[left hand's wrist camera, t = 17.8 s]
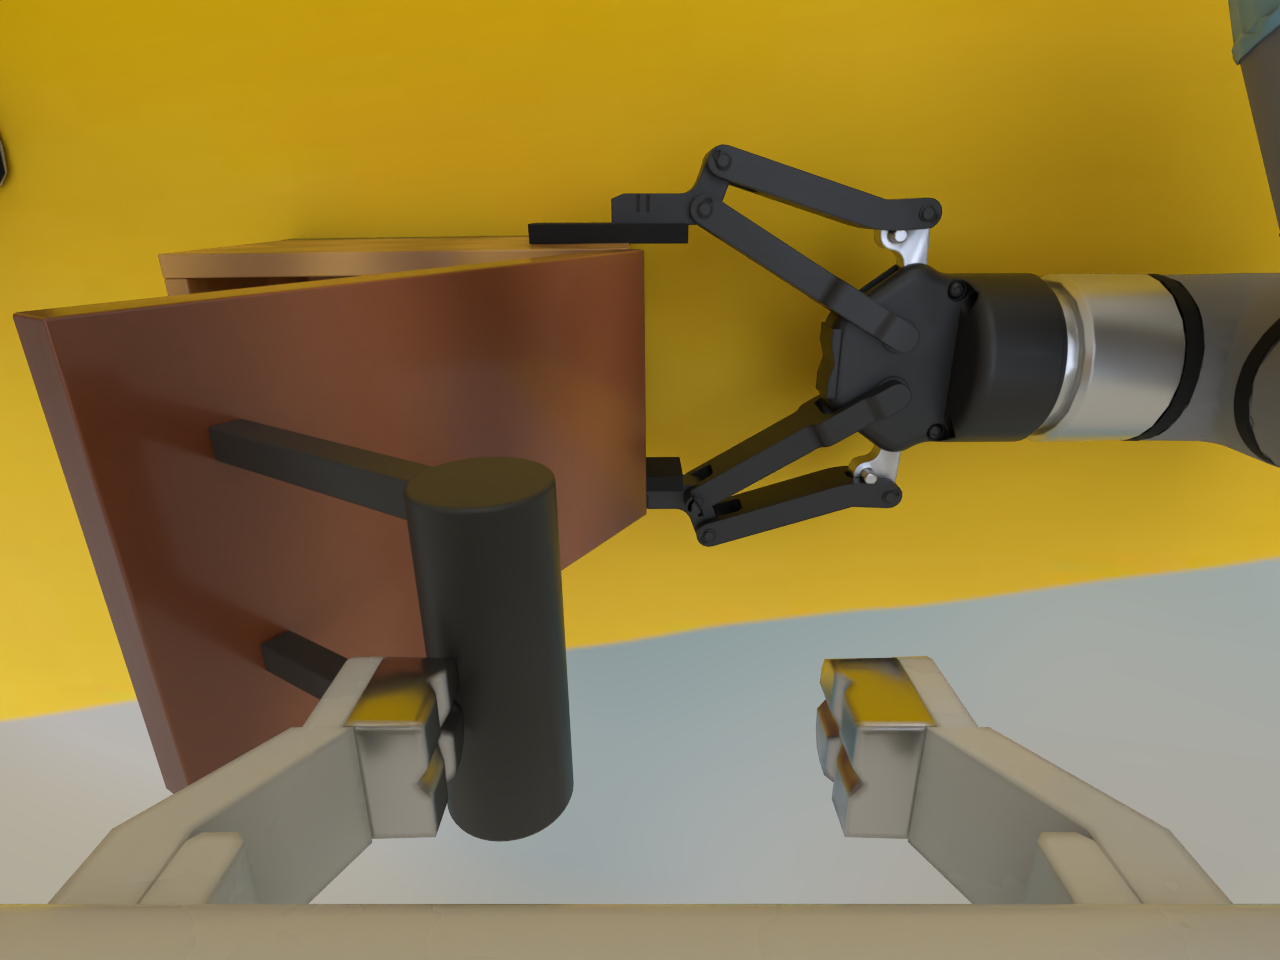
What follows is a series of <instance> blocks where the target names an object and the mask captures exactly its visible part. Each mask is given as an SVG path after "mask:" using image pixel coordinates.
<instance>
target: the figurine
mask: <svg viewBox="0 0 1280 960" xmlns="http://www.w3.org/2000/svg"><path fill="white" fill-rule="evenodd" d="M6 174H7V166H6V160H5V154H4V148H3V145H2V143H1V140H0V186H2V184H3V182H4V179H5V177H6Z"/></svg>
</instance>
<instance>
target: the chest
mask: <svg viewBox="0 0 1280 960" xmlns="http://www.w3.org/2000/svg"><path fill="white" fill-rule="evenodd" d="M610 249H630V244H629V243H596V244H529V236H471V237H396V238H320V239H287V240H281V241H272V242H263V243H255V244H246V245H237V246H228V247H219V248H210V249H201V250H193V251H184V252H175V253H166V254H159V255H158V257H159V261H160V265H161V269H162V273H163V277H164V278H166V279H165V284H166V288H167V292H168V296H176V295H185V294H195V293H204V292H214V291H223V290H233V289H242V288H251V287H261V286H270V285H280V284H289V283H299V282H308V281H317V280H327V279H336V278H346V277H355V276H365V275H374V274H384V273H393V272H402V271H412V270H421V269H431V268H440V267H450V266H459V265H468V264H478V263H487V262H497V261H506V260H516V259H525V258H535V257H544V256H553V255H563V254H572V253H582V252H591V251H601V250H610Z"/></svg>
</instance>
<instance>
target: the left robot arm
mask: <svg viewBox="0 0 1280 960" xmlns="http://www.w3.org/2000/svg"><path fill="white" fill-rule="evenodd" d="M820 684H821V687H822V690H823V692H824V695H825V698H826V700H825V701H824V702H823V703H822V704H821V705H820V706H819V707H818V708H817V720H816V738H817V750H818V755H819V760H820V764H821V767H822V770H823V773H824V775H825V776H826V777H827V778H829V779H830V780H831V781H832V782H834V785H833V794H832V801H833V803H834V806H835V809H836V812H837V815H838V818H839V821H840V824H841V827H842V830H843V833H844V836H845V837H862V838H898V839H908V842H909V843H910V844H911V845H912V846H913V847H914V848H915V849H916V850H917V851H918V852H919V853H920V854H921V855H922V856H923V857H924V858H925V859H926V860H927V861H928V862H929V863H931V864H932V865H933V866H934V867H935V868H936V869H937V870H938V871H939V872H940V873H941V874H942V875H943V876H944V877H945V878H946V879H947V880H948V881H949V882H950V883H951V884H952V885H953V886H954V887H956V888H957V889H958V890H959V891H960V892H961V893H962V894H963V895H964V896H965V897H966V898H967V899H968V900H969V901H970V902H971V903H972V904H308V903H310V902H311V901H312V900H313V899H314V898H315V897H316V896H317V895H318V894H319V893H320V892H321V891H322V890H323V889H324V888H325V887H326V886H327V885H328V884H329V883H330V882H331V881H332V880H333V879H335V878H336V877H337V876H338V875H339V874H340V873H341V872H342V871H343V870H344V869H345V868H346V867H347V866H348V865H349V864H350V863H351V862H352V861H353V860H354V859H355V858H356V857H357V856H358V855H360V854H361V853H362V852H363V851H364V850H365V849H366V848H367V847H368V846H369V845H370V844H371V843H372V839H382V838H417V837H436V834H437V831H438V828H439V825H440V822H441V819H442V816H443V813H444V810H445V807H446V804H447V801H448V791H447V782H448V781H449V780H450V779H452V778H453V777H454V776H455V775H456V774H457V771H458V768H459V764H460V761H461V756H462V750H463V743H464V716H463V709H462V707H461V706H460V705H459V704H458V703H457V702H456V700H455V696H456V693H457V691H458V688H459V685H460V681H459V673H458V665H457V662H456V660H455V659H454V658H427V657H387V658H386V657H384V656H376V657H352V658H350V659H348V660H347V661H346V662H345V664H344V665H343V666H342V668H341V669H340V671H339V672H338V674H337V675H336V677H335V678H334V680H333V681H332V683H331V684H330V686H329V687H328V689H327V690H326V692H325V693H324V695H323V696H322V698H321V699H320V701H319V702H318V704H317V705H316V707H315V708H314V710H313V711H312V713H311V714H310V716H309V717H308V719H307V720H306V722H305V723H304V725H303V726H302V727H291V728H289V729H287V730H286V731H284V732H282V733H280V734H279V735H277V736H275V737H273V738H271V739H270V740H268V741H266V742H264V743H263V744H261V745H259V746H257V747H256V748H254V749H252V750H250V751H249V752H247V753H245V754H243V755H242V756H240V757H238V758H236V759H235V760H233V761H231V762H229V763H228V764H226V765H224V766H222V767H220V768H219V769H217V770H215V771H213V772H212V773H210V774H208V775H206V776H205V777H203V778H201V779H199V780H198V781H196V782H194V783H192V784H191V785H189V786H187V787H185V788H184V789H182V790H180V791H178V792H177V793H175V794H173V795H171V796H170V797H168V798H166V799H164V800H163V801H161V802H159V803H157V804H155V805H154V806H152V807H150V808H148V809H147V810H145V811H143V812H141V813H140V814H138V815H136V816H134V817H133V818H131V819H129V820H127V821H126V822H124V823H122V824H120V825H118V826H117V827H115V828H113V829H112V830H111V831H110V832H109V833H108V835H107V836H106V837H105V838H104V839H103V840H102V841H101V843H100V844H99V845H98V846H97V847H96V848H95V850H94V851H93V852H92V853H91V854H90V855H89V856H88V858H87V859H86V860H85V861H84V862H83V863H82V865H81V866H80V867H79V868H78V869H77V870H76V872H75V873H74V874H73V875H72V876H71V877H70V878H69V880H68V881H67V882H66V883H65V884H64V885H63V886H62V888H61V889H60V890H59V891H58V892H57V893H56V894H55V896H54V897H53V898H52V899H51V900H50V901H49V903H48V904H0V960H1280V904H1233V903H1232V902H1231V901H1230V900H1229V899H1228V897H1227V896H1226V895H1225V894H1224V893H1223V892H1222V890H1221V889H1220V888H1219V887H1218V886H1217V885H1216V884H1215V882H1214V881H1213V880H1212V879H1211V878H1210V876H1209V875H1208V874H1207V873H1206V872H1205V871H1204V869H1203V868H1202V867H1201V866H1200V865H1199V864H1198V863H1197V861H1196V860H1195V859H1194V858H1193V857H1192V856H1191V854H1190V853H1189V852H1188V851H1187V850H1186V849H1185V847H1184V846H1183V845H1182V844H1181V843H1180V842H1179V841H1178V839H1177V838H1176V837H1175V836H1174V835H1173V834H1172V832H1171V831H1170V830H1168V829H1167V828H1165V827H1163V826H1161V825H1160V824H1158V823H1156V822H1154V821H1153V820H1151V819H1149V818H1147V817H1146V816H1144V815H1142V814H1140V813H1139V812H1137V811H1135V810H1133V809H1132V808H1130V807H1128V806H1126V805H1125V804H1123V803H1121V802H1119V801H1118V800H1116V799H1114V798H1112V797H1111V796H1109V795H1107V794H1105V793H1103V792H1102V791H1100V790H1098V789H1096V788H1095V787H1093V786H1091V785H1089V784H1088V783H1086V782H1084V781H1082V780H1081V779H1079V778H1077V777H1075V776H1074V775H1072V774H1070V773H1068V772H1067V771H1065V770H1063V769H1061V768H1060V767H1058V766H1056V765H1054V764H1053V763H1051V762H1049V761H1047V760H1046V759H1044V758H1042V757H1040V756H1039V755H1037V754H1035V753H1033V752H1032V751H1030V750H1028V749H1026V748H1025V747H1023V746H1021V745H1019V744H1018V743H1016V742H1014V741H1012V740H1011V739H1009V738H1007V737H1005V736H1003V735H1002V734H1000V733H998V732H997V731H995V730H993V729H991V728H989V727H978V726H977V724H976V723H975V721H974V720H973V718H972V717H971V715H970V714H969V712H968V711H967V710H966V708H965V707H964V705H963V704H962V702H961V701H960V699H959V698H958V696H957V695H956V693H955V692H954V690H953V689H952V687H951V686H950V684H949V683H948V682H947V680H946V679H945V677H944V676H943V674H942V673H941V671H940V670H939V668H938V667H937V665H936V664H935V662H934V661H933V660H932V659H931V658H929V657H927V656H913V657H893V658H854V659H825V660H824V663H823V666H822V670H821V679H820Z"/></svg>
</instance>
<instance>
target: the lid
mask: <svg viewBox="0 0 1280 960" xmlns="http://www.w3.org/2000/svg"><path fill="white" fill-rule="evenodd" d="M13 319H14V322H15V325H16V328H17V331H18V334H19V337H20V340H21V344H22V347H23V350H24V353H25V356H26V359H27V362H28V365H29V368H30V371H31V374H32V377H33V380H34V383H35V386H36V390H37V393H38V396H39V399H40V402H41V405H42V408H43V411H44V414H45V417H46V420H47V423H48V426H49V429H50V432H51V436H52V439H53V442H54V445H55V448H56V451H57V454H58V457H59V460H60V463H61V466H62V469H63V472H64V475H65V478H66V482H67V485H68V488H69V491H70V494H71V497H72V500H73V503H74V506H75V509H76V512H77V515H78V518H79V521H80V525H81V528H82V531H83V534H84V537H85V540H86V543H87V546H88V549H89V552H90V555H91V558H92V561H93V564H94V567H95V571H96V574H97V577H98V580H99V583H100V586H101V589H102V592H103V595H104V598H105V601H106V604H107V607H108V610H109V613H110V617H111V620H112V623H113V626H114V629H115V632H116V635H117V638H118V641H119V644H120V647H121V650H122V653H123V656H124V659H125V663H126V666H127V669H128V672H129V675H130V678H131V681H132V684H133V687H134V690H135V693H136V696H137V699H138V702H139V706H140V708H141V711H142V715H143V718H144V721H145V724H146V727H147V730H148V733H149V736H150V739H151V742H152V745H153V748H154V752H155V755H156V758H157V761H158V764H159V767H160V770H161V773H162V776H163V779H164V782H165V785H166V788H167V789H168V790H169V791H171V792H172V793H173V794H175V793H177V792H178V791H180V790H182V789H184V788H185V787H187V786H189V785H191V784H192V783H194V782H196V781H198V780H199V779H201V778H203V777H205V776H206V775H208V774H210V773H212V772H213V771H215V770H217V769H219V768H220V767H222V766H224V765H226V764H228V763H229V762H231V761H233V760H235V759H236V758H238V757H240V756H242V755H243V754H245V753H247V752H249V751H250V750H252V749H254V748H256V747H257V746H259V745H261V744H263V743H264V742H266V741H268V740H270V739H271V738H273V737H275V736H277V735H279V734H280V733H282V732H284V731H286V730H287V729H289V728H291V727H302V726H303V725H304V723H305V722H306V720H307V719H308V717H309V716H310V714H311V713H312V711H313V710H314V708H315V707H316V705H317V704H318V702H319V701H320V699H321V698H322V696H323V695H324V693H325V692H326V690H327V689H328V687H329V686H330V684H331V683H332V681H333V680H334V678H335V677H336V675H337V674H338V672H339V671H340V669H341V668H342V666H343V665H344V664H345V662H346V661H347V660H348V659H350V658H352V657H376V656H384V657H386V658H387V657H427V658H454V659H455V660H456V662H457V665H458V673H459V681H460V685H459V688H458V691H457V693H456V696H455V700H456V702H457V703H458V704H459V705H460V706H461V707H462V709H463V716H464V743H463V750H462V756H461V761H460V764H459V768H458V771H457V774H456V775H455V776H454V777H453V778H452V779H450V780H449V781H448V782H447V791H448V801H447V804H448V809H449V812H450V815H451V817H452V818H453V820H454V821H455V823H456V824H457V825H458V826H459V827H460V828H461V829H462V830H464V831H465V832H467V833H468V834H470V835H472V836H474V837H477V838H480V839H484V840H489V841H511V840H517V839H521V838H525V837H528V836H530V835H533V834H535V833H537V832H539V831H541V830H543V829H544V828H546V827H548V826H549V825H550V824H551V823H553V822H554V821H555V820H556V819H557V818H558V817H559V816H560V815H561V814H562V812H563V811H564V810H565V808H566V806H567V805H568V803H569V800H570V798H571V795H572V792H573V767H572V750H571V733H570V716H569V699H568V682H567V665H566V648H565V631H564V614H563V597H562V580H561V570H563V569H564V568H566V567H567V566H569V565H570V564H572V563H573V562H575V561H576V560H578V559H579V558H581V557H582V556H584V555H586V554H587V553H589V552H590V551H592V550H593V549H595V548H596V547H598V546H599V545H601V544H602V543H604V542H605V541H607V540H608V539H610V538H611V537H613V536H614V535H616V534H617V533H619V532H620V531H622V530H623V529H625V528H626V527H628V526H629V525H631V524H632V523H634V522H635V521H637V520H638V519H640V518H641V517H643V516H644V515H646V418H645V313H644V250H635V249H610V250H601V251H591V252H582V253H572V254H563V255H553V256H544V257H535V258H525V259H516V260H506V261H497V262H487V263H478V264H468V265H459V266H450V267H440V268H431V269H421V270H412V271H402V272H393V273H384V274H374V275H365V276H355V277H346V278H336V279H327V280H317V281H308V282H299V283H289V284H280V285H270V286H261V287H251V288H242V289H233V290H223V291H214V292H204V293H195V294H185V295H176V296H166V297H157V298H148V299H138V300H129V301H119V302H110V303H100V304H91V305H82V306H72V307H63V308H53V309H44V310H34V311H25V312H16V313H14V314H13Z"/></svg>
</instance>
